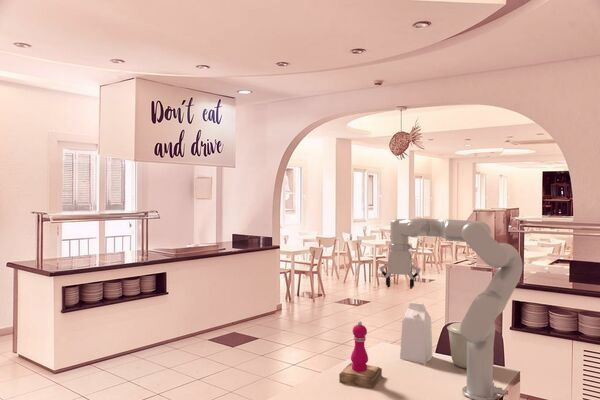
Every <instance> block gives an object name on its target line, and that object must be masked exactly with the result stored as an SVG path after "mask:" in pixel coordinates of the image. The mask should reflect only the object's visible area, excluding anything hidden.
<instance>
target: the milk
mask: <svg viewBox="0 0 600 400" xmlns="http://www.w3.org/2000/svg"><path fill="white" fill-rule="evenodd" d="M426 309H427V308H426V307H425V304H424V303H421V302H413V301H411V302H410V303H409V305H408V308H407V309H406V312H405V314H404V316H403V318H402V322H401V324H402V325H401V336H400V337H401V339H400V351H399V352H400V353H399V359H401V360H405V361H410V362H414V363H418V364H419V363H420V364H423V365H424V364H427V362H429V361H430V360H431V359H432V358H433V336H432V335H433V334H432V333H433V332H432V317H431V316H430V314H429V312H428V311H427V310H426Z"/></svg>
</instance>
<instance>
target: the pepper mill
mask: <svg viewBox="0 0 600 400" xmlns="http://www.w3.org/2000/svg"><path fill="white" fill-rule="evenodd" d="M367 333H368V329H367V327H366V326H365V325H363V323H362V321H360V320H359V321H358V322H357V324H356V325H354V326H353V328H352V334H353V340H354V347H353V351H352V352H351V355H350V362H351V363H353V364H352V369H353V370H354V371H358V372H363V371H366V370H367V365H368V364H367V363H368V362H369V356H368V353H367V350H366V348H365V341H366V340H367V338H366V336H367Z"/></svg>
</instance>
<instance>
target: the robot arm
mask: <svg viewBox="0 0 600 400" xmlns="http://www.w3.org/2000/svg"><path fill="white" fill-rule="evenodd" d="M491 235H492V229H491V227H490V225H489V224H488V223H487V222H485V221H480V220H463V219H462V220H461V219H436V218H435V219H434V218H411V219H407V218H394V219H391V220H390V250H388V257H387V263H386V264H384V265H382V266H379V271H380V272H381V275H383V277H384V278H385V285H386V287H387V288H390V287H391V277H390V276H391V275H405V276H408V277H409V278H410V279H409V289H410V290H412V289H413V288H414V287H415V279H416V278H417V277H418V276H419V274H420V272H421V268H420V267H418V266H416V265H414V264H413V259H412V251H411V250H410V249H413V245H410V244H409V238H417V237H425V236H426V237H434V238H435V237H437V238H442V239H444V240H446V241H448V242H459V243H460V242H461V243H466V245H468V247H469V248H470V249H471V250H472V251H473V252H474V253H475V254H476V255H477V256H478V257H479V258H480V259H481V260H482V262H484V264H486V265H487V266H489V267H491V268H493V269H494V268H495V269H496V271H495V272H494V274H493V276H492V277H491V280H490V282H488V283H489V284H488V285H487V286H486V289H484V290H483V291H482V292H480V293H479V294H478V295H477V296H476V297H474V299H473V301H472V302H471V304H470V306H469V307H468V310H467V311H466V313H465V316H464V317H463V319H462V320H461V322H462V323H461V326H460V332H461V335H462V337H463V338H464V339H465V340H466V341H467V369H466V385H465V386H464V387H462V388H461V389H462V390H461V391H462V394H463V395H464V396H465V397H467V398H468V399H471V400H497V399H498V395H500V396H501V395H502V396H506V394H507V393H506V392H507V391H506V389H503V387H497V386H496V385H495V382H494V346H495V342H494V341H495V336H496V324H495V320H496V319H497V318H498V316H499V315H500V314H502V313H503V311H504V310H505V309H506V307H507V304H508V302H509V300H510V298H512V295H513V293H514V291H515V288H516V287H517V285H518V283H519V281H520V279H521V276H522V273H523V260H522V256H521V255H520V252H519V251H518V250H517V249H516V248H515V247H514V246H513V245H512V244H509V243H506V242H498V241H497V240H496V239H494V238H493V237H492V236H491ZM386 268H387V272H386V271H385V269H386ZM413 270H414V271H415V273H414V274H413Z"/></svg>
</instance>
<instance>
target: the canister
mask: <svg viewBox="0 0 600 400" xmlns="http://www.w3.org/2000/svg"><path fill="white" fill-rule="evenodd" d="M461 323H462V321H461V322H454V323H451V324H450V325H448V326H447V327H446V329H447V330H448V336H449V347H450V355H451V361H452V363H454V365H455V366H457V367H459V368H463V369H466V370H467V341H466V340H465V339H464V338H463V337H462V335H461V332H460V326H461Z"/></svg>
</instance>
